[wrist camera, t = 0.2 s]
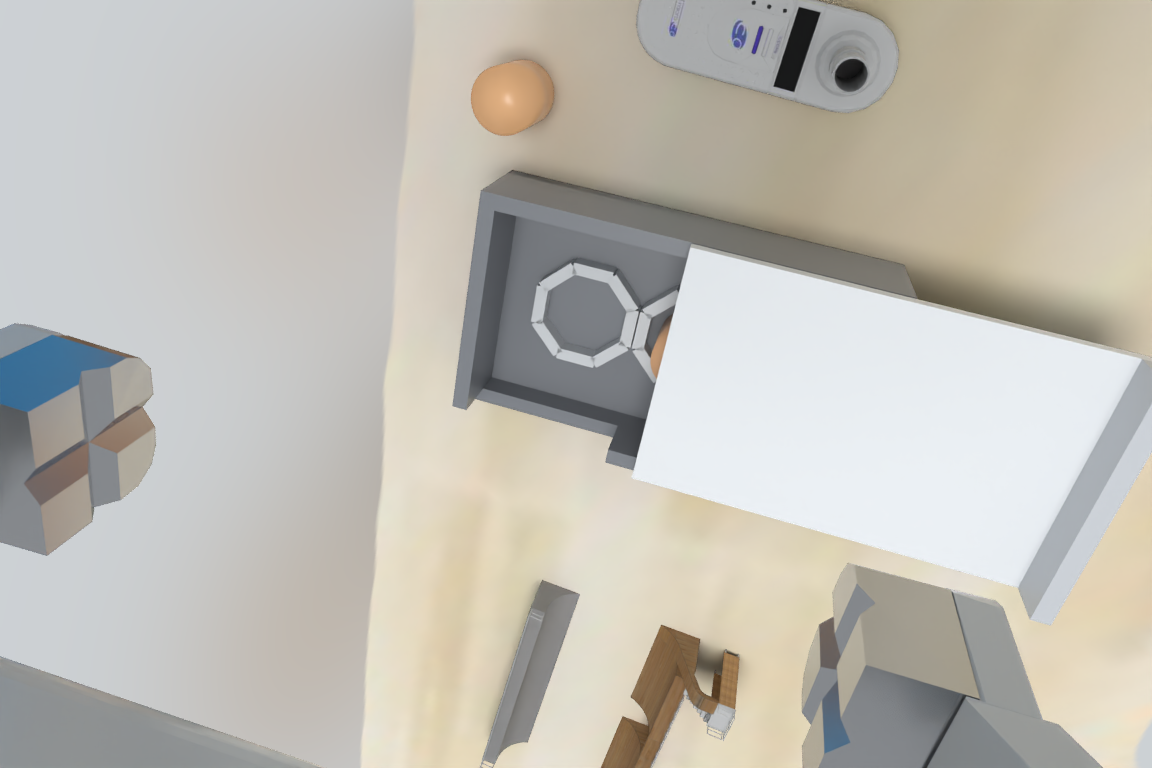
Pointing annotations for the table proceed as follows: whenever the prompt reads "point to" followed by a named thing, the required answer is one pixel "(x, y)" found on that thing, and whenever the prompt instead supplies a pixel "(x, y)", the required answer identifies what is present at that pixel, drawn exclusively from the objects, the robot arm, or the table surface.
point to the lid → (896, 422)
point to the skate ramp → (654, 692)
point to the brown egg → (512, 96)
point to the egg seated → (660, 346)
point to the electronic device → (775, 48)
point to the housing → (598, 299)
